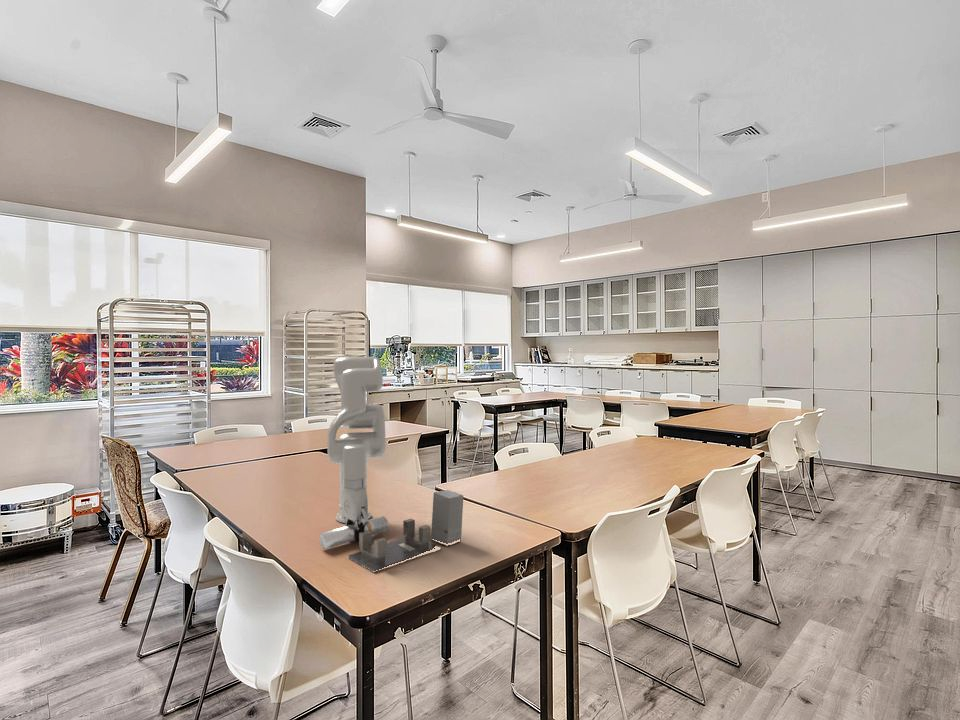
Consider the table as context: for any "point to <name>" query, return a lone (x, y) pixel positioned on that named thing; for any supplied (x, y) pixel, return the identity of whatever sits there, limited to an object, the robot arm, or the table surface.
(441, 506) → the skincare box
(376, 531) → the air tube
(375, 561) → the plate with corner blocks
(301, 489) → the table surface
